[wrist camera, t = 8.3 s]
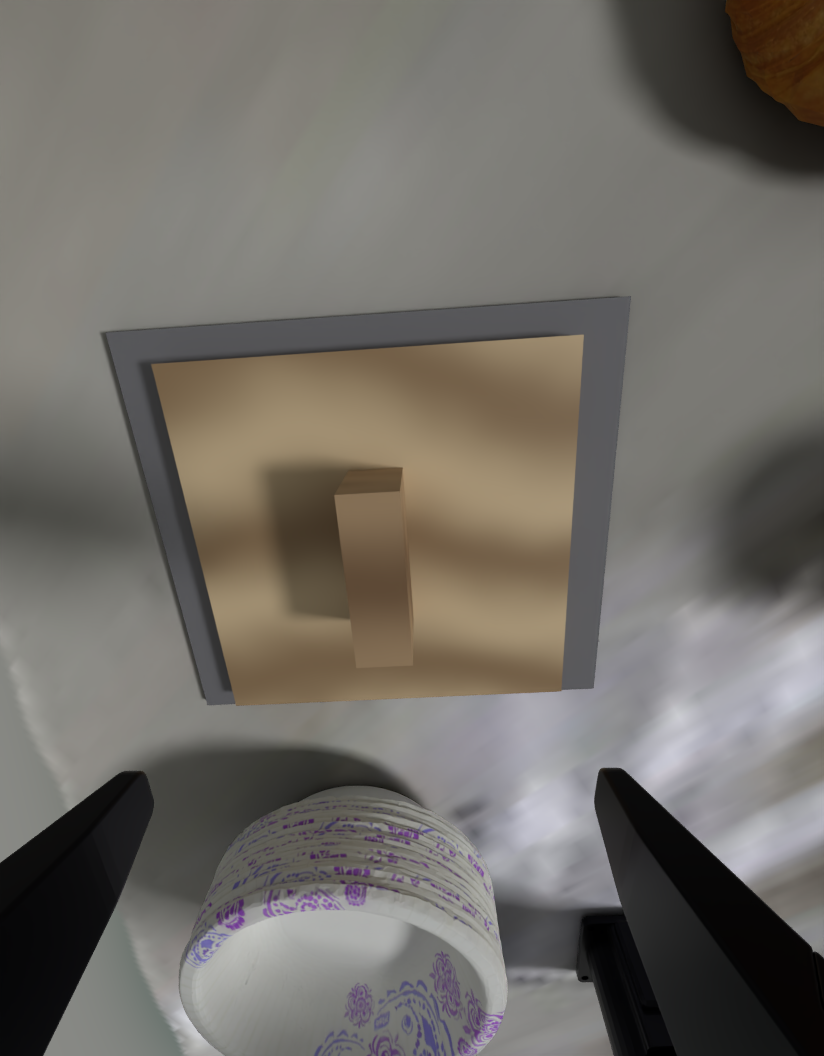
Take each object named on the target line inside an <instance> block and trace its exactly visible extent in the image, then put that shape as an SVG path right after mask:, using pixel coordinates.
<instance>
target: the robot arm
mask: <svg viewBox="0 0 824 1056" xmlns="http://www.w3.org/2000/svg"><path fill="white" fill-rule="evenodd" d="M594 804H595V810H596V814H597V818H598V822H599V826H600V829H601V833H602V837H603V840H604V844H605V848H606V852H607V855H608V859H609V863H610V866H611V870H612V874H613V877H614V881H615V885H616V888H617V892H618V895H619V899H620V902H621V905H622V908H623V911H624V913H625V916H594V917H586V918H584V919H582V921H581V929H580V938H579V948H578V957H577V966H576V973H577V977H578V980H579V981H581V982H593V983H594V987H595V990H596V994H597V997H598V1001H599V1004H600V1008H601V1012H602V1015H603V1019H604V1022H605V1026H606V1029H607V1033H608V1036H609V1040H610V1044H611V1047H612V1051H613V1054H614V1056H824V958H823V957H822V956H821V955H820V954H819V953H817V952H813V950H812V947H811V946H810V945H809V944H808V943H807V942H806V941H805V940H804V939H803V938H802V937H801V936H799V935H798V934H797V933H796V932H795V931H794V930H793V929H792V928H791V927H790V926H789V925H788V924H787V923H786V922H785V921H784V920H783V919H781V918H780V917H779V916H778V915H777V914H776V913H775V912H774V911H773V910H772V909H771V908H770V907H769V906H768V905H767V904H766V903H764V902H763V901H762V900H761V899H760V898H759V897H758V896H757V895H756V894H755V893H754V892H753V891H752V890H751V889H750V888H749V887H748V886H746V885H745V884H744V883H743V882H742V881H741V880H740V879H739V878H738V877H737V876H736V875H735V874H734V873H733V872H732V871H731V870H730V869H728V868H727V867H726V866H725V865H724V864H723V863H722V862H721V861H720V860H719V859H718V858H717V857H716V856H715V855H714V854H713V853H711V852H710V851H709V850H708V849H707V848H706V847H705V846H704V845H703V844H702V843H701V842H700V841H699V840H698V839H697V838H696V837H695V836H693V835H692V834H691V833H690V832H689V831H688V830H687V829H686V828H685V827H684V826H683V825H682V824H681V823H680V822H679V821H678V820H676V819H675V818H674V817H673V816H672V815H671V814H670V813H669V812H668V811H667V810H666V809H665V808H664V807H663V806H662V805H661V804H660V803H658V802H657V801H656V800H655V799H654V798H653V797H652V796H651V795H650V794H649V793H648V792H647V791H646V790H645V789H644V788H643V787H641V786H640V785H639V784H638V783H637V782H636V781H635V780H634V779H633V778H632V777H631V776H630V775H629V774H628V773H627V772H626V771H624V770H623V769H621V768H601V769H600V770H599V773H598V778H597V784H596V791H595V797H594ZM153 808H154V799H153V796H152V792H151V789H150V786H149V782H148V779H147V776H146V774H145V773H144V772H143V771H124V772H121V773H119V774H118V775H116V776H115V777H113V778H112V779H111V780H110V781H108V782H107V783H106V784H104V785H103V786H102V787H100V788H99V789H98V790H96V791H95V792H94V793H92V794H91V795H90V796H88V797H87V798H86V799H84V800H83V801H82V802H80V803H79V804H78V805H76V806H75V807H74V808H72V809H71V810H70V811H68V812H67V813H66V814H64V815H63V816H62V817H60V818H59V819H58V820H56V821H55V822H54V823H53V824H51V825H50V826H49V827H47V828H46V829H45V830H43V831H42V832H41V833H39V834H38V835H37V836H35V837H34V838H33V839H31V840H30V841H29V842H27V843H26V844H25V845H23V846H22V847H21V848H20V849H18V850H17V851H15V852H14V853H13V854H11V855H10V856H9V857H7V858H6V859H5V860H3V861H2V862H1V863H0V1056H43V1055H44V1053H45V1051H46V1049H47V1046H48V1045H49V1042H50V1041H51V1038H52V1036H53V1034H54V1032H55V1030H56V1028H57V1026H58V1024H59V1022H60V1020H61V1018H62V1016H63V1014H64V1012H65V1010H66V1008H67V1006H68V1003H69V1001H70V999H71V997H72V995H73V993H74V991H75V989H76V987H77V985H78V983H79V981H80V979H81V977H82V975H83V973H84V971H85V969H86V967H87V964H88V962H89V960H90V958H91V956H92V954H93V952H94V950H95V948H96V946H97V944H98V942H99V940H100V938H101V936H102V933H103V931H104V930H105V927H106V925H107V923H108V921H109V919H110V917H111V915H112V913H113V911H114V909H115V906H116V904H117V902H118V900H119V897H120V895H121V893H122V890H123V888H124V885H125V883H126V880H127V877H128V875H129V872H130V870H131V867H132V865H133V862H134V859H135V857H136V854H137V852H138V849H139V846H140V844H141V841H142V839H143V836H144V833H145V831H146V828H147V826H148V823H149V821H150V818H151V815H152V812H153Z"/></svg>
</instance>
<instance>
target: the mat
mask: <svg viewBox="0 0 824 1056" xmlns="http://www.w3.org/2000/svg"><path fill="white" fill-rule="evenodd" d="M630 301H631V296H628V297H613V298H599V299H584V300H570V301H555V302H541V303H526V304H512V305H497V306H483V307H468V308H454V309H440V310H425V311H411V312H396V313H382V314H367V315H353V316H338V317H324V318H309V319H295V320H280V321H266V322H251V323H237V324H222V325H208V326H193V327H179V328H165V329H150V330H136V331H121V332H107V333H106V336H107V340H108V344H109V347H110V351H111V355H112V358H113V362H114V365H115V369H116V373H117V376H118V380H119V384H120V387H121V391H122V395H123V398H124V402H125V406H126V409H127V413H128V417H129V420H130V424H131V427H132V431H133V435H134V438H135V442H136V446H137V449H138V453H139V457H140V460H141V464H142V468H143V471H144V475H145V479H146V482H147V486H148V489H149V493H150V497H151V500H152V504H153V508H154V511H155V515H156V519H157V522H158V526H159V530H160V533H161V537H162V541H163V544H164V548H165V551H166V555H167V559H168V562H169V566H170V570H171V573H172V577H173V581H174V584H175V588H176V592H177V595H178V599H179V603H180V606H181V610H182V613H183V617H184V621H185V624H186V628H187V632H188V635H189V639H190V643H191V646H192V650H193V654H194V657H195V661H196V665H197V668H198V672H199V675H200V679H201V683H202V686H203V690H204V694H205V697H206V701H207V705H221V704H236V703H235V699H234V695H233V691H232V687H231V683H230V679H229V675H228V671H227V667H226V663H225V659H224V655H223V651H222V647H221V643H220V639H219V635H218V631H217V627H216V622H215V618H214V614H213V610H212V606H211V602H210V598H209V594H208V590H207V586H206V582H205V578H204V574H203V570H202V566H201V562H200V558H199V554H198V550H197V546H196V542H195V538H194V534H193V530H192V526H191V522H190V518H189V514H188V510H187V506H186V502H185V498H184V494H183V490H182V486H181V482H180V478H179V474H178V470H177V466H176V462H175V458H174V454H173V450H172V446H171V442H170V438H169V434H168V430H167V426H166V422H165V417H164V413H163V409H162V405H161V401H160V397H159V393H158V389H157V385H156V381H155V377H154V373H153V369H152V365H151V364H160V363H175V362H189V361H204V360H219V359H233V358H248V357H263V356H277V355H292V354H306V353H321V352H336V351H350V350H365V349H379V348H394V347H409V346H423V345H438V344H453V343H467V342H482V341H496V340H511V339H526V338H540V337H555V336H570V335H584V341H583V357H582V373H581V388H580V404H579V420H578V436H577V451H576V467H575V483H574V499H573V514H572V530H571V546H570V562H569V577H568V593H567V609H566V625H565V641H564V656H563V672H562V688H561V690H568V689H591V688H594V678H595V667H596V657H597V646H598V636H599V625H600V615H601V605H602V594H603V584H604V573H605V563H606V552H607V542H608V531H609V521H610V510H611V500H612V489H613V479H614V469H615V458H616V448H617V437H618V427H619V416H620V406H621V395H622V385H623V374H624V364H625V354H626V343H627V333H628V322H629V312H630Z"/></svg>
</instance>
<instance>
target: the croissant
mask: <svg viewBox="0 0 824 1056" xmlns="http://www.w3.org/2000/svg"><path fill="white" fill-rule="evenodd" d="M725 12H726V13H727V14H728V15H729V16H730V18H731V27H732V36H733V40H734V42H735V44H736V45H737V47H738V49H739V51H740V52H741V55H742V59H743V63H744V67H745V71H746V75H747V77H749V78H750V79H752V80H753V81H755V82H756V83H757V84H758V86H759V87H760V89H761V90H762V91H764V92H765V93H767V94H768V95H770V96H771V97H773V98H774V100H775V101H777V102H780V103H782V104H784V105H785V106H786V107H787V108H788V109H789V110H790V111H791V112H792V113H793V115H794V116H795V117H796V118H797V119H798V120H799V121H803V122H807V123H811V124H815V125H819V126H823V127H824V0H727V1H726V8H725Z"/></svg>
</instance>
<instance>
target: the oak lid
mask: <svg viewBox="0 0 824 1056" xmlns="http://www.w3.org/2000/svg"><path fill="white" fill-rule="evenodd" d="M583 341H584V335H570V336H555V337H540V338H526V339H511V340H496V341H482V342H467V343H453V344H438V345H423V346H409V347H394V348H379V349H365V350H350V351H336V352H321V353H306V354H292V355H277V356H263V357H248V358H233V359H219V360H204V361H189V362H175V363H160V364H151V365H152V369H153V373H154V377H155V381H156V385H157V389H158V393H159V397H160V401H161V405H162V409H163V413H164V417H165V422H166V426H167V430H168V434H169V438H170V442H171V446H172V450H173V454H174V458H175V462H176V466H177V470H178V474H179V478H180V482H181V486H182V490H183V494H184V498H185V502H186V506H187V510H188V514H189V518H190V522H191V526H192V530H193V534H194V538H195V542H196V546H197V550H198V554H199V558H200V562H201V566H202V570H203V574H204V578H205V582H206V586H207V590H208V594H209V598H210V602H211V606H212V610H213V614H214V618H215V622H216V627H217V631H218V635H219V639H220V643H221V647H222V651H223V655H224V659H225V663H226V667H227V671H228V675H229V679H230V683H231V687H232V691H233V695H234V699H235V703H236V706H240V705H263V704H286V703H308V702H331V701H353V700H376V699H398V698H421V697H443V696H466V695H489V694H511V693H534V692H556V691H561V688H562V672H563V656H564V641H565V625H566V609H567V593H568V577H569V562H570V546H571V530H572V514H573V499H574V483H575V467H576V451H577V436H578V420H579V404H580V388H581V373H582V357H583Z"/></svg>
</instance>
